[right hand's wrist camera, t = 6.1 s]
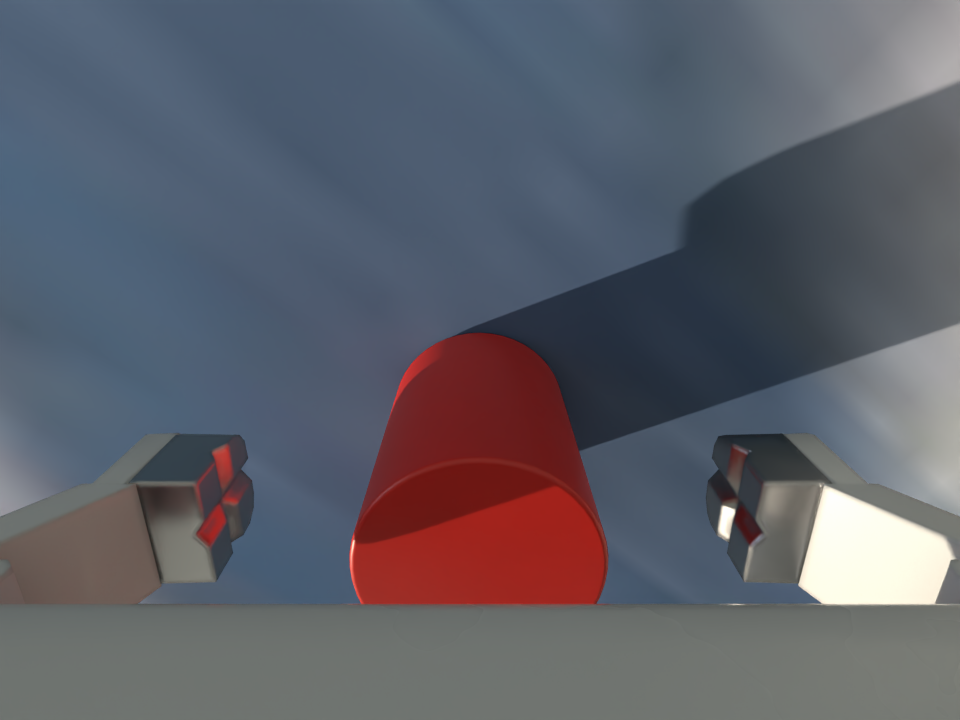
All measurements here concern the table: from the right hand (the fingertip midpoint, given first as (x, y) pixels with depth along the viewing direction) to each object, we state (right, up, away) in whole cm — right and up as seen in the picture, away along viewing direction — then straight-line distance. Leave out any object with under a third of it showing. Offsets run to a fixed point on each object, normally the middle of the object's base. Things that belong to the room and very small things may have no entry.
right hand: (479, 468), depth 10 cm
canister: (0, +1, +2) cm, 2 cm away
